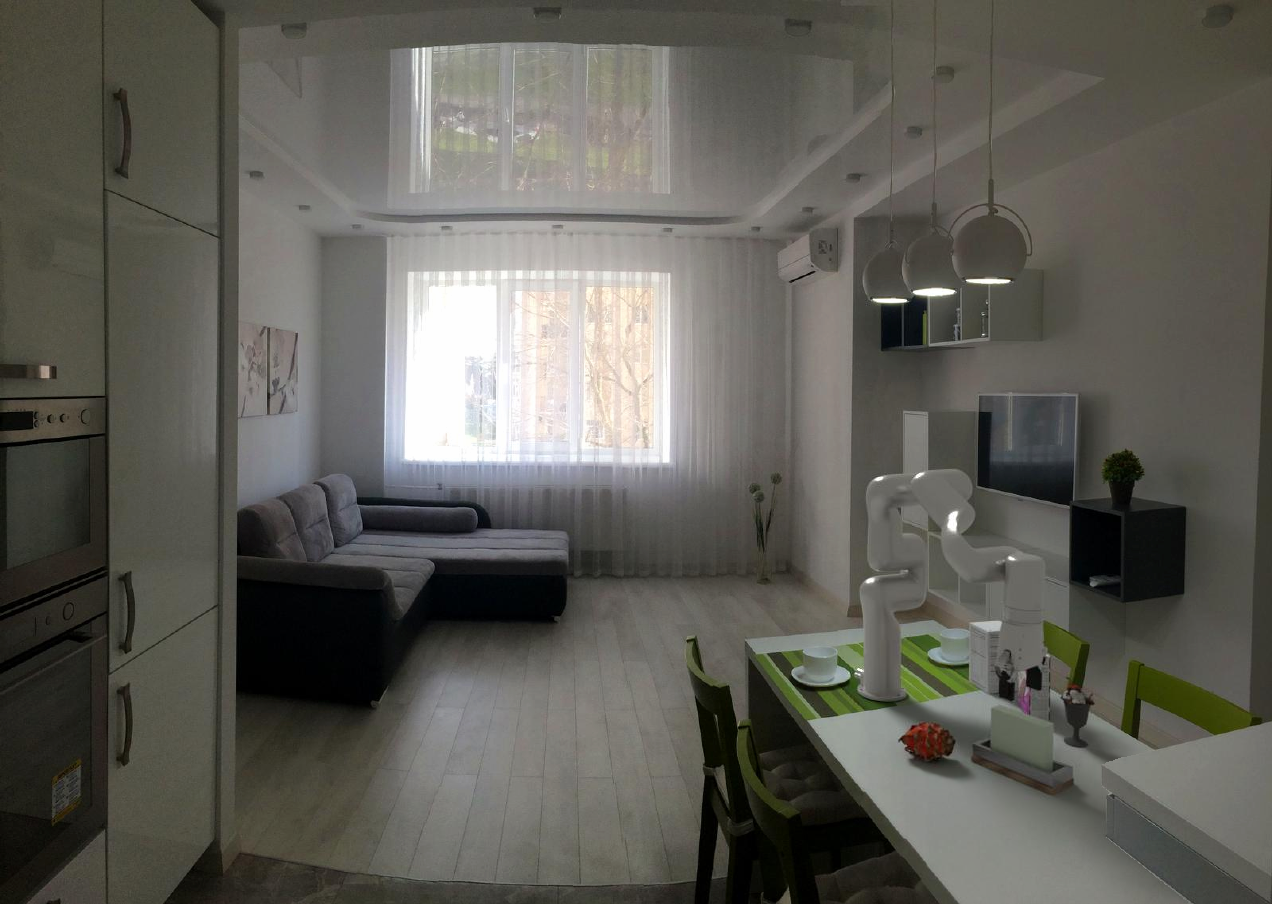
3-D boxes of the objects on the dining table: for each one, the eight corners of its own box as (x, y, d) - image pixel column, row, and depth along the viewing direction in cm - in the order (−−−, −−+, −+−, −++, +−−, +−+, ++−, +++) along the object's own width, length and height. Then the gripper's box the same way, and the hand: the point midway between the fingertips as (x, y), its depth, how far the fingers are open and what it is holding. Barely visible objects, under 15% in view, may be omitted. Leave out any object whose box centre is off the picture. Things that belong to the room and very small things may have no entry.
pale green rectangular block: (990, 757, 173) (991, 707, 172) (998, 753, 175) (999, 704, 174) (1044, 779, 163) (1045, 727, 162) (1052, 775, 165) (1053, 723, 164)
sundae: (1052, 737, 185) (1054, 673, 184) (1080, 735, 186) (1082, 672, 184) (1070, 750, 178) (1072, 684, 177) (1099, 748, 179) (1101, 682, 178)
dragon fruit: (960, 769, 174) (902, 771, 177) (954, 734, 180) (898, 736, 184) (958, 748, 169) (898, 750, 172) (951, 712, 175) (894, 715, 178)
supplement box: (1020, 692, 213) (1021, 629, 211) (988, 694, 211) (988, 631, 210) (998, 679, 222) (999, 619, 221) (967, 681, 221) (968, 621, 219)
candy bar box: (1016, 703, 205) (1017, 640, 204) (1037, 704, 204) (1038, 641, 203) (1028, 721, 194) (1029, 655, 193) (1050, 722, 193) (1052, 656, 192)
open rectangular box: (970, 760, 174) (971, 744, 174) (993, 751, 179) (993, 735, 178) (1051, 794, 159) (1052, 776, 159) (1073, 783, 163) (1074, 766, 163)
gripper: (1030, 603, 174) (1027, 679, 176) (981, 616, 165) (978, 697, 167) (1064, 611, 168) (1060, 690, 170) (1015, 626, 159) (1012, 709, 160)
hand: (1020, 693), depth 168 cm, fingers open, 9 cm apart
